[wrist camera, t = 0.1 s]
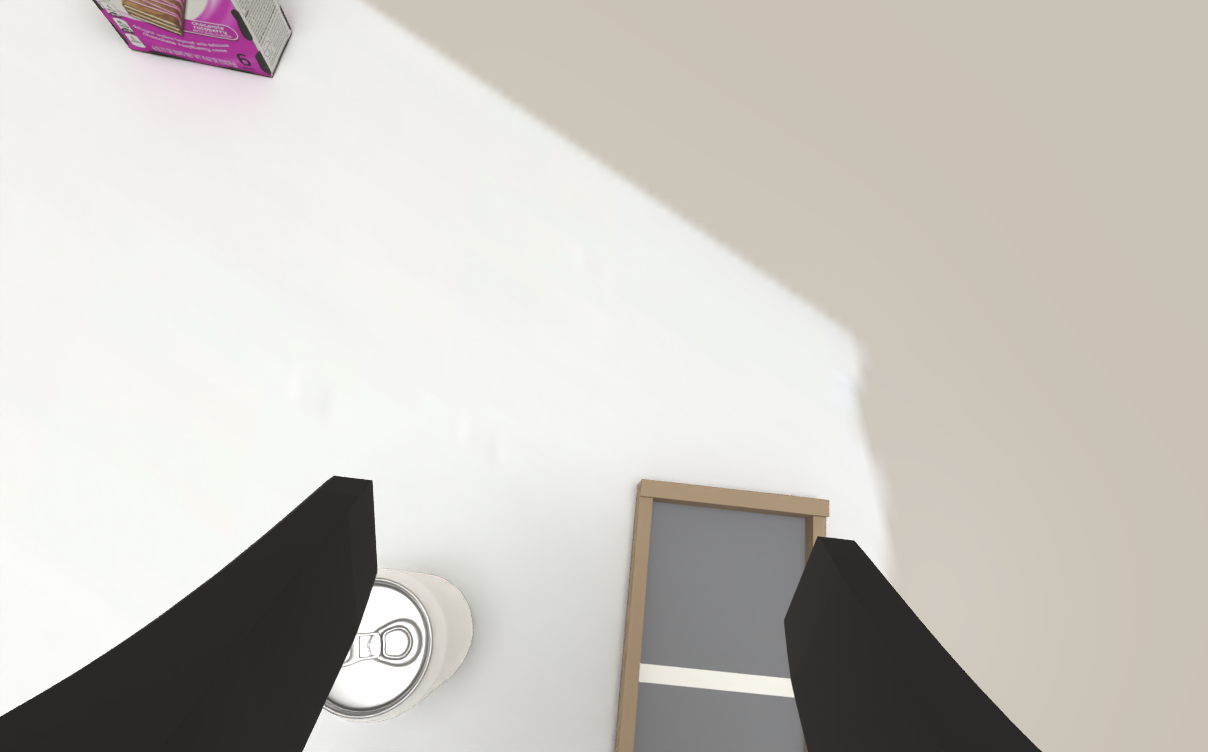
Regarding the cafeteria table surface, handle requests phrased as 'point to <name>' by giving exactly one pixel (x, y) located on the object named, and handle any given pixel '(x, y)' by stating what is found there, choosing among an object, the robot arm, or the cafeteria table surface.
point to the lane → (713, 619)
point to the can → (402, 646)
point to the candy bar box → (204, 30)
